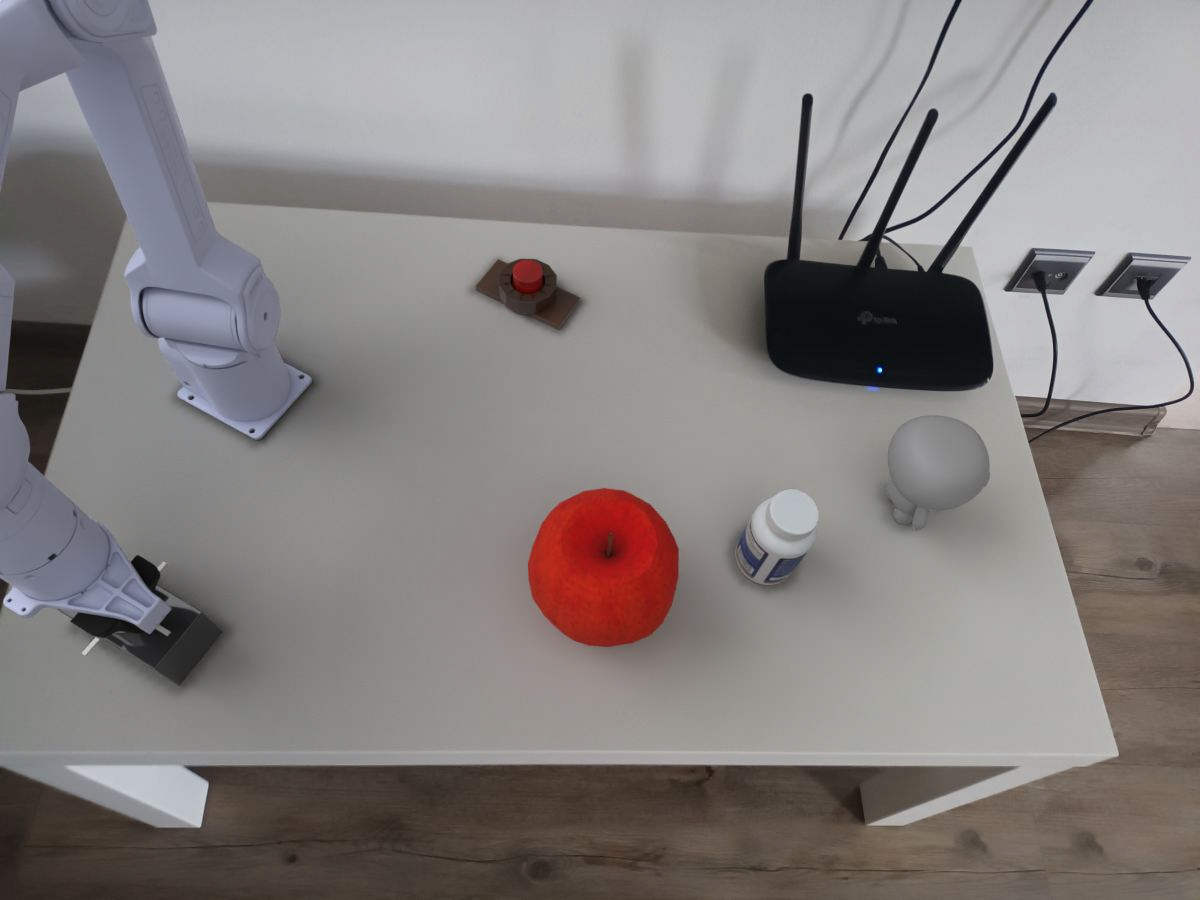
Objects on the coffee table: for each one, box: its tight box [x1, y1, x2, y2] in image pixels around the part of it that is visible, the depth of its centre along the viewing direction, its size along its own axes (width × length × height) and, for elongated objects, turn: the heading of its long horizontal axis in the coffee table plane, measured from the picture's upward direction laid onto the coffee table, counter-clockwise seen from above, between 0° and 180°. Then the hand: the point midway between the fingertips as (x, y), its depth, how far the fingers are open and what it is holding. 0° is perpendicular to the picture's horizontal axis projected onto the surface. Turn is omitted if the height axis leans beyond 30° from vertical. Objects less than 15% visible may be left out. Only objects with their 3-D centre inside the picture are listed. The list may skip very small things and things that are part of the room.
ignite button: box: [513, 260, 543, 294], centre depth 83 cm, size 3×3×2 cm
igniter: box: [475, 258, 581, 331], centre depth 84 cm, size 10×6×2 cm, turn 62°
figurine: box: [885, 414, 991, 531], centre depth 71 cm, size 8×8×12 cm
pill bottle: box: [734, 488, 820, 586], centre depth 68 cm, size 5×5×10 cm
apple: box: [527, 487, 680, 648], centre depth 63 cm, size 12×12×13 cm
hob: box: [57, 561, 224, 687], centre depth 63 cm, size 10×8×5 cm
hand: (123, 605), depth 60 cm, fingers closed on hob knob, 4 cm apart
